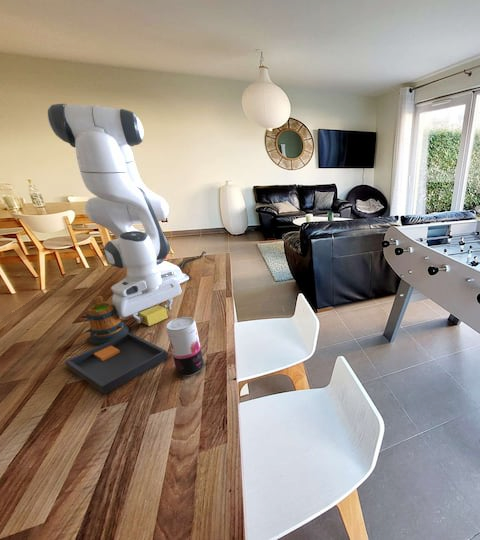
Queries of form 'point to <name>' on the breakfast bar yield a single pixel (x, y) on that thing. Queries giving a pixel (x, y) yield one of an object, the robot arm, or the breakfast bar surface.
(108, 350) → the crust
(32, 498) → the breakfast bar surface
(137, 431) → the breakfast bar surface
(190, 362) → the beverage can
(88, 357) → the dark grey tray
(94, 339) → the brown wooden barrel
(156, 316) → the sponge
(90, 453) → the breakfast bar surface
